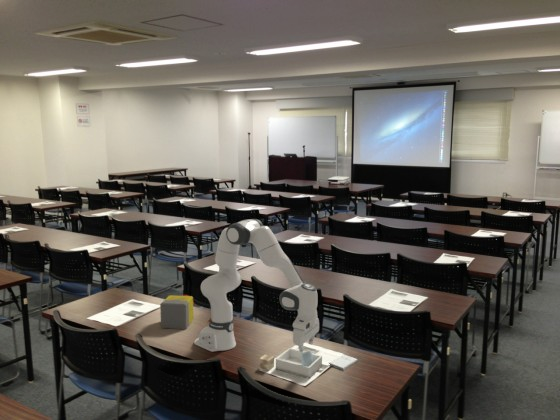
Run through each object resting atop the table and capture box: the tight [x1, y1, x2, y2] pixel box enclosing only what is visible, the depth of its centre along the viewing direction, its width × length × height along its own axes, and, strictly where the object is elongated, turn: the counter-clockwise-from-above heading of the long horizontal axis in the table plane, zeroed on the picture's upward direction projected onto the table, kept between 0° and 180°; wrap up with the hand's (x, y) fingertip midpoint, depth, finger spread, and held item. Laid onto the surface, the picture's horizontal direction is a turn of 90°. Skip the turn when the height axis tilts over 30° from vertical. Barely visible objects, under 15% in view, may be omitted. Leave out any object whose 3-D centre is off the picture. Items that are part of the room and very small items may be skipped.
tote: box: [275, 347, 323, 379], centre depth 219 cm, size 18×14×5 cm
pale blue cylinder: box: [302, 350, 313, 367], centre depth 217 cm, size 5×5×7 cm
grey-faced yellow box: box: [159, 294, 195, 330], centre depth 275 cm, size 15×24×15 cm, turn 174°
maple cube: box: [259, 353, 275, 371], centre depth 219 cm, size 5×5×5 cm
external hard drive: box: [328, 354, 358, 371], centre depth 224 cm, size 2×8×12 cm
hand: (306, 347), depth 216 cm, fingers open, 8 cm apart
